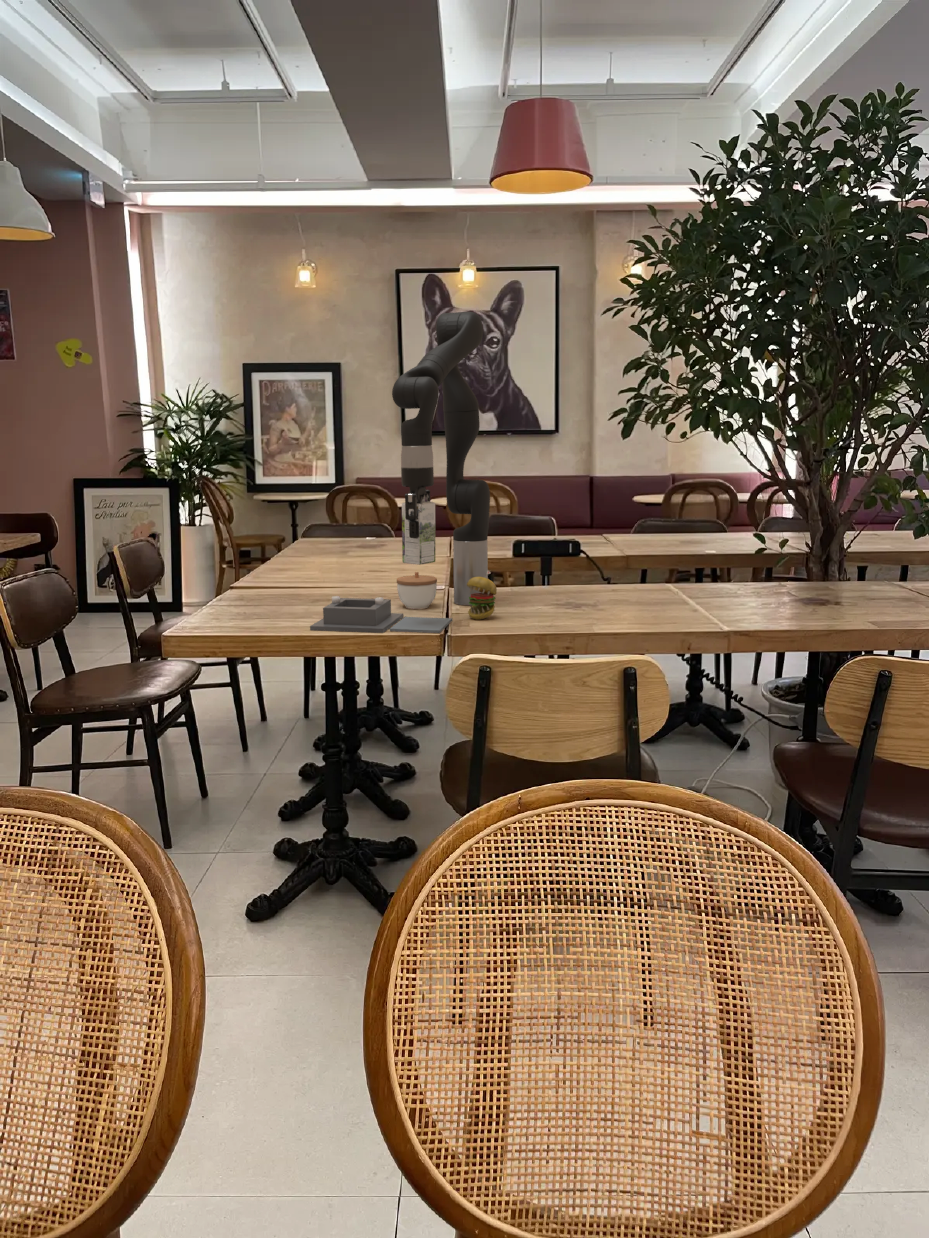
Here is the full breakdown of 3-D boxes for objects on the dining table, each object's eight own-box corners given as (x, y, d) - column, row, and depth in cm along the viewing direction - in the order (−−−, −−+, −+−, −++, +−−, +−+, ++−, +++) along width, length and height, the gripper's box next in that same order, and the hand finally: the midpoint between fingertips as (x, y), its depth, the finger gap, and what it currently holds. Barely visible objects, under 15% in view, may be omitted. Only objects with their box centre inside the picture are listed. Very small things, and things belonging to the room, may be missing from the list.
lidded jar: (389, 608, 239) (388, 573, 237) (410, 602, 248) (409, 568, 246) (424, 612, 234) (423, 576, 232) (444, 605, 243) (444, 570, 241)
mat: (405, 619, 225) (405, 616, 225) (452, 620, 223) (452, 618, 223) (389, 631, 212) (389, 628, 212) (439, 633, 210) (439, 630, 209)
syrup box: (418, 560, 219) (417, 500, 216) (436, 562, 215) (435, 501, 212) (402, 563, 214) (400, 502, 211) (420, 565, 211) (419, 503, 208)
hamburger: (460, 618, 226) (460, 570, 224) (481, 613, 231) (480, 567, 229) (482, 622, 221) (482, 574, 218) (503, 618, 226) (503, 570, 223)
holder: (335, 615, 231) (334, 590, 230) (403, 617, 227) (403, 592, 226) (310, 630, 214) (308, 603, 212) (383, 632, 210) (382, 605, 209)
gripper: (425, 467, 202) (426, 540, 206) (440, 464, 216) (441, 532, 219) (392, 467, 204) (395, 539, 207) (409, 464, 217) (411, 532, 221)
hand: (418, 535), depth 213 cm, fingers closed on syrup box, 7 cm apart
